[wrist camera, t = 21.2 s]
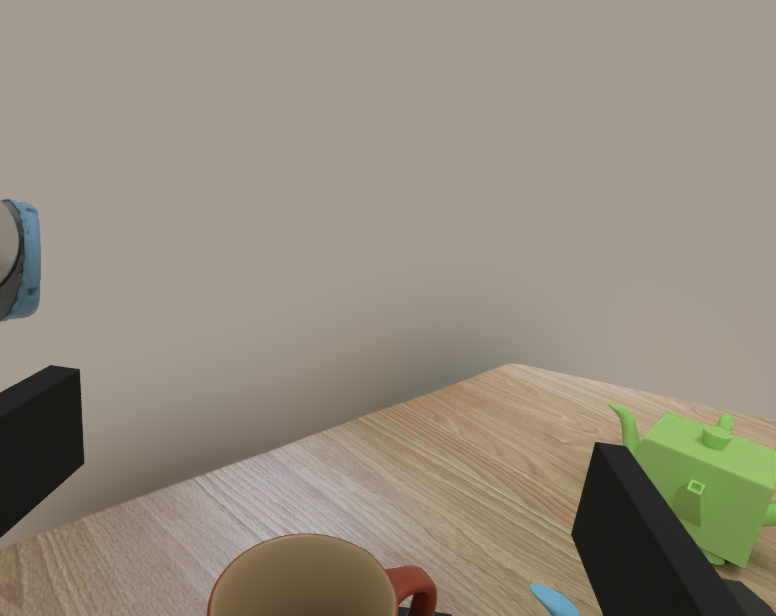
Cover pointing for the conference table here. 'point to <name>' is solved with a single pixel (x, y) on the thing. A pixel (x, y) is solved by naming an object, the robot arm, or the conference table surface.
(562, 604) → the teapot
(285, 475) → the conference table surface
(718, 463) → the kettle
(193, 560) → the conference table surface
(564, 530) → the conference table surface
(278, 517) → the conference table surface
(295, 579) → the mug
